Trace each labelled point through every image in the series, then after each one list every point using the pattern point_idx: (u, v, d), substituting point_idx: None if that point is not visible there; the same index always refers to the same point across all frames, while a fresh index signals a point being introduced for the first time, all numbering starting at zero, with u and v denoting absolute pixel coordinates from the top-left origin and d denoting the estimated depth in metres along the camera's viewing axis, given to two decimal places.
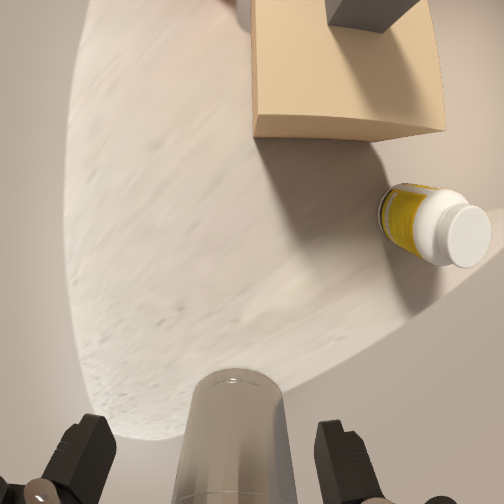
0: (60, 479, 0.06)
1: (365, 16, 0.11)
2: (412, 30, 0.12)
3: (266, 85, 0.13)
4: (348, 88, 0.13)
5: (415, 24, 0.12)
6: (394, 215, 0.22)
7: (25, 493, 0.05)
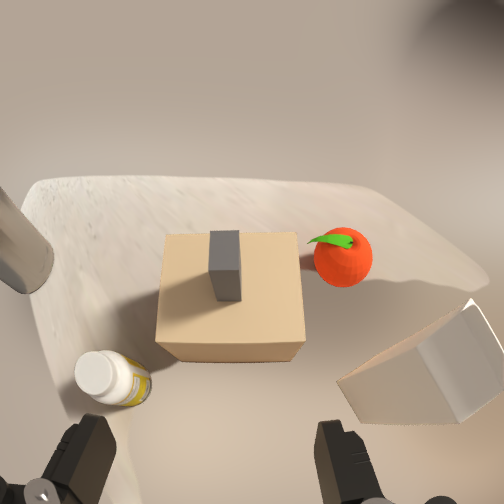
0: (60, 479, 0.06)
1: None
2: (225, 324, 0.25)
3: (180, 238, 0.29)
4: (177, 277, 0.27)
5: (231, 327, 0.25)
6: None
7: (25, 493, 0.05)
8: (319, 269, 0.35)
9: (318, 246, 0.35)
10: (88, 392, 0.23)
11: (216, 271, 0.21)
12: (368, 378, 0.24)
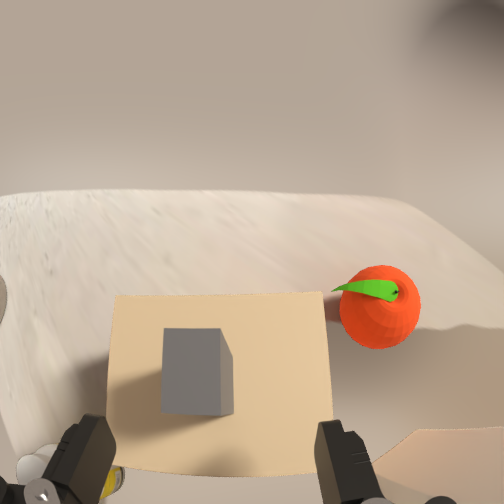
0: (60, 479, 0.06)
1: None
2: (209, 449, 0.14)
3: (136, 302, 0.17)
4: (132, 369, 0.15)
5: (218, 454, 0.13)
6: None
7: (25, 493, 0.05)
8: (347, 328, 0.24)
9: (347, 295, 0.24)
10: None
11: (178, 413, 0.09)
12: (416, 497, 0.12)
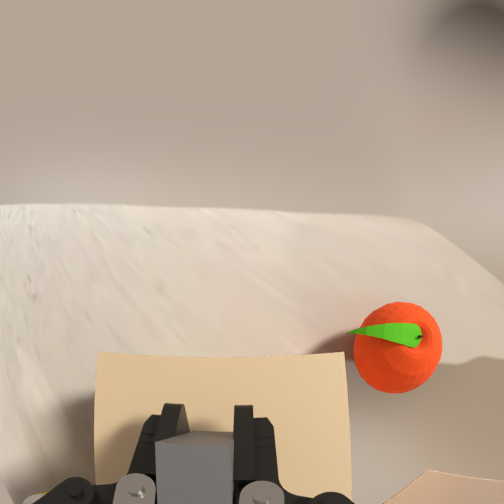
0: (155, 471, 0.07)
1: None
2: None
3: (122, 361, 0.14)
4: (121, 440, 0.12)
5: None
6: None
7: (118, 492, 0.06)
8: (363, 372, 0.20)
9: (364, 337, 0.20)
10: None
11: None
12: None
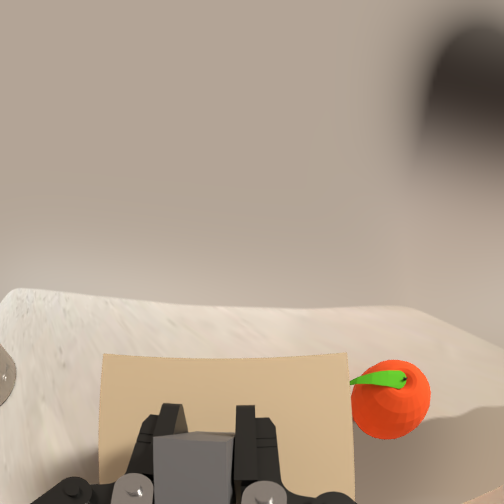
0: (153, 471, 0.07)
1: None
2: None
3: (127, 363, 0.14)
4: (125, 440, 0.12)
5: None
6: None
7: (116, 492, 0.06)
8: (359, 421, 0.21)
9: (357, 390, 0.22)
10: None
11: None
12: None
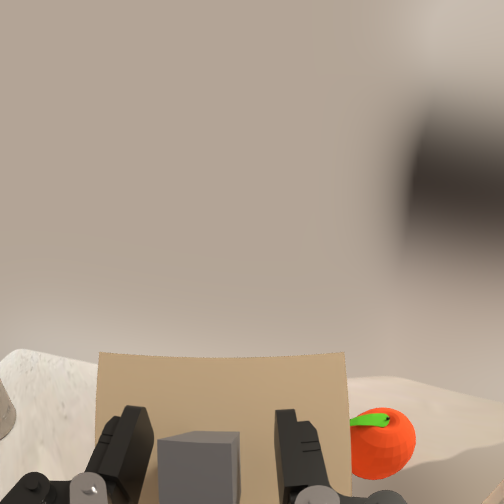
0: (108, 471, 0.07)
1: None
2: None
3: (124, 362, 0.14)
4: None
5: None
6: None
7: (71, 489, 0.06)
8: None
9: None
10: None
11: None
12: None
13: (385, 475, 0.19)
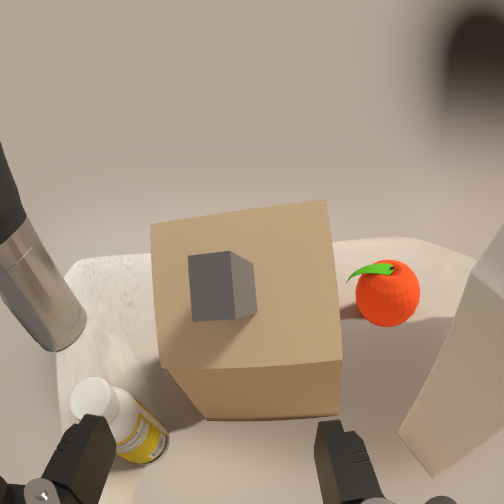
0: (60, 479, 0.06)
1: None
2: (240, 344, 0.19)
3: (168, 227, 0.21)
4: (172, 284, 0.21)
5: (248, 348, 0.19)
6: None
7: (25, 493, 0.05)
8: (362, 307, 0.30)
9: (358, 283, 0.31)
10: (79, 417, 0.18)
11: (205, 320, 0.14)
12: (431, 392, 0.16)
13: (393, 322, 0.28)
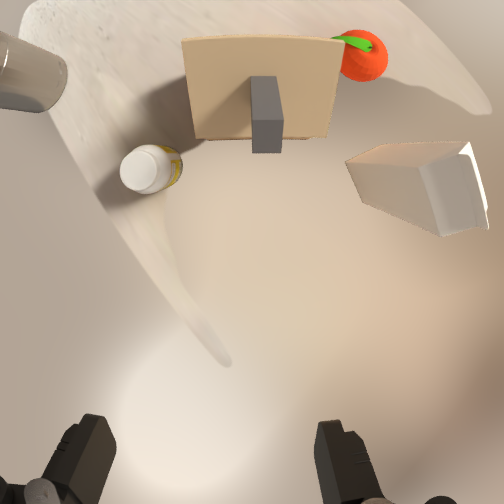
0: (60, 479, 0.06)
1: None
2: None
3: (201, 44, 0.19)
4: (206, 86, 0.23)
5: None
6: None
7: (25, 493, 0.05)
8: None
9: None
10: (136, 189, 0.29)
11: (260, 151, 0.22)
12: (374, 170, 0.30)
13: (359, 81, 0.33)
